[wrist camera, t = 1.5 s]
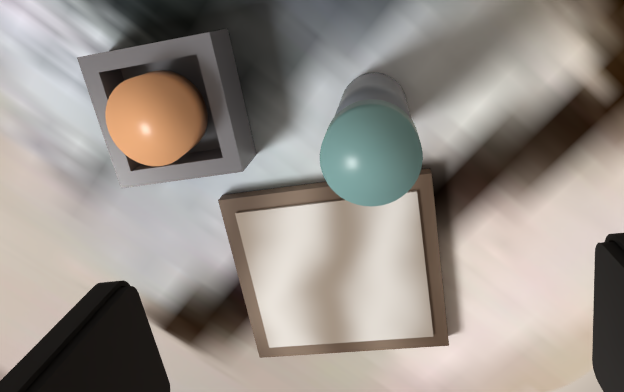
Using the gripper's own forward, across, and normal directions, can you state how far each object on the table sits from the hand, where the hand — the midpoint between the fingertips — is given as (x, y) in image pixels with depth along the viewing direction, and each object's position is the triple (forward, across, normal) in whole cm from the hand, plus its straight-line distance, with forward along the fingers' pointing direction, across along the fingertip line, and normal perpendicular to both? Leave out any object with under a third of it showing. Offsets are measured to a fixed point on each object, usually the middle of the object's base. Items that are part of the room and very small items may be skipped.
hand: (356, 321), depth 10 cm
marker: (+22, 0, 0) cm, 22 cm away
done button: (+19, +12, -2) cm, 23 cm away
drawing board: (+22, +4, +11) cm, 25 cm away
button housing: (+22, +12, -2) cm, 25 cm away
